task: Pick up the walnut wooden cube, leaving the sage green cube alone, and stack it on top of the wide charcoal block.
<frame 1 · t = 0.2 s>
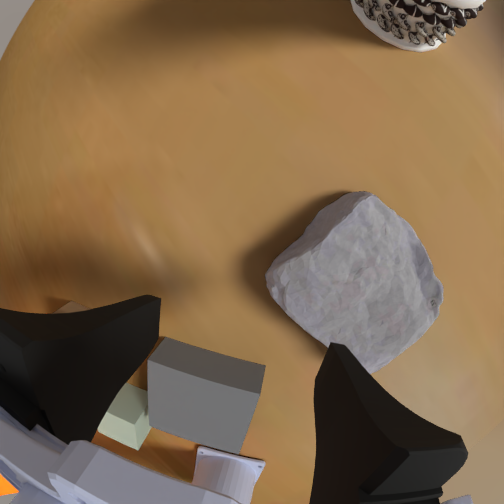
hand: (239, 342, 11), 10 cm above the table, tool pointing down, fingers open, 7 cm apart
decorative candle: (398, 11, 14), on the table
sage block: (134, 400, 27), on the table
stone block: (362, 276, 20), on the table
charcoal block: (208, 385, 25), on the table
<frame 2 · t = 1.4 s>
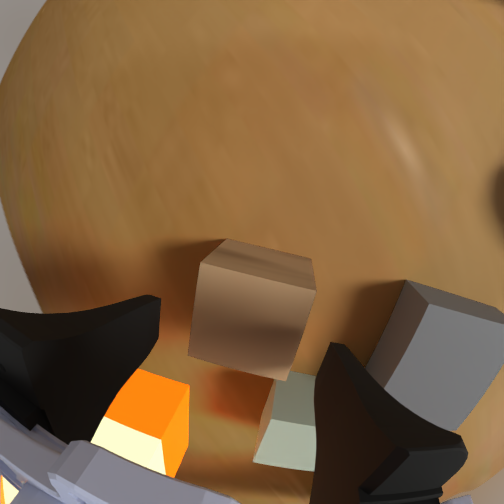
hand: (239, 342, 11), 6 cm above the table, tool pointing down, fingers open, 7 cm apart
orange juice: (149, 404, 22), on the table
sage block: (302, 398, 19), on the table
charcoal block: (428, 349, 17), on the table
walnut block: (259, 287, 17), on the table
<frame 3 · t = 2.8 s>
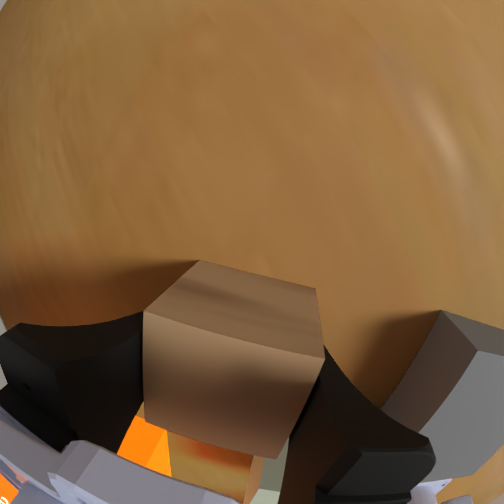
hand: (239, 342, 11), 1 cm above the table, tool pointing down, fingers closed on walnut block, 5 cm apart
orange juice: (126, 440, 17), on the table
sage block: (300, 446, 15), on the table
charcoal block: (453, 388, 12), on the table
walnut block: (245, 325, 13), on the table, touching gripper
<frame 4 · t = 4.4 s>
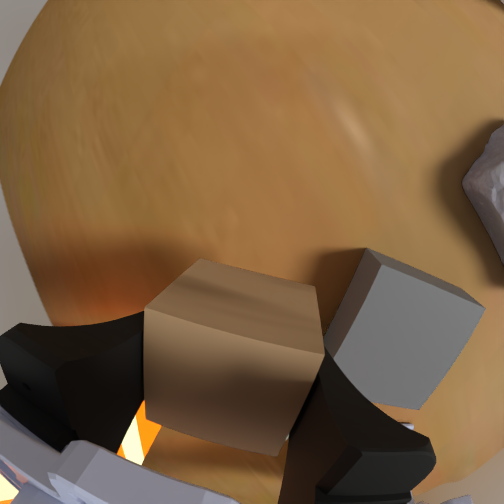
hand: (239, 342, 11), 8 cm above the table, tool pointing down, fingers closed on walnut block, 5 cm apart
orange juice: (130, 374, 24), on the table
charcoal block: (390, 322, 19), on the table
walnut block: (245, 323, 13), point 7 cm above the table, touching gripper
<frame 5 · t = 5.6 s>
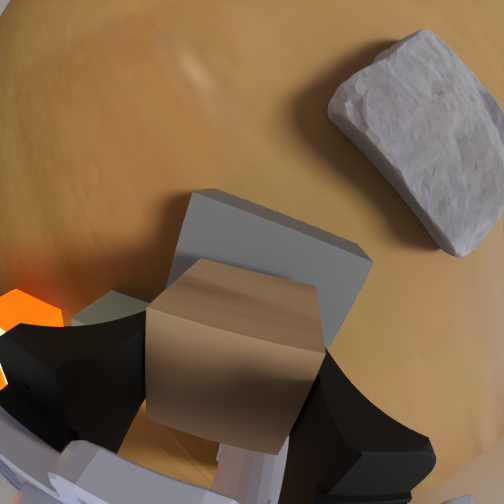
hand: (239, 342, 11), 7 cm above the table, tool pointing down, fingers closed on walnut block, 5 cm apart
orange juice: (44, 335, 23), on the table
sage block: (139, 328, 20), on the table
stone block: (433, 135, 14), on the table
charcoal block: (260, 282, 18), on the table
walnut block: (245, 323, 13), point 5 cm above the table, touching gripper
when the fingers open (7 cm above the table, at t = 6.3 s): walnut block drops 1 cm, point 4 cm above the table.
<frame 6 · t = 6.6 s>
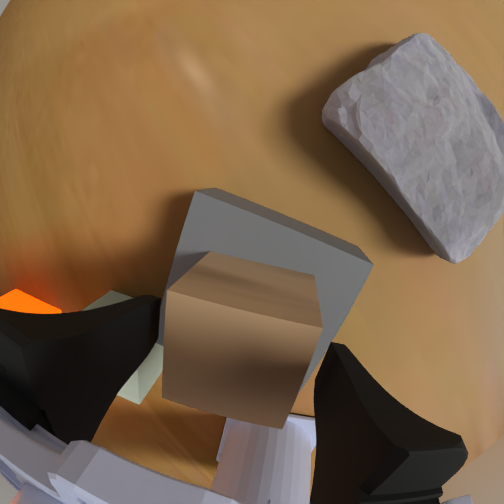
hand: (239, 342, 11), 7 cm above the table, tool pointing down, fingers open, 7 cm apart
orange juice: (44, 335, 23), on the table
sage block: (139, 328, 20), on the table
stone block: (428, 139, 14), on the table
charcoal block: (260, 282, 18), on the table
walnut block: (251, 310, 14), point 4 cm above the table
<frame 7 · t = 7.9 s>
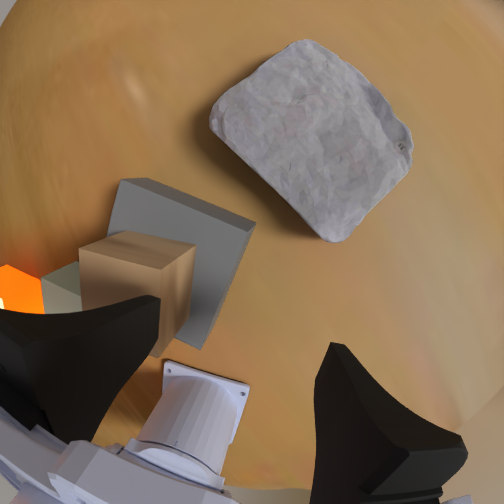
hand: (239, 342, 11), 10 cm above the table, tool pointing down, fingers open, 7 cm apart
orange juice: (27, 304, 27), on the table
sage block: (95, 292, 24), on the table
stone block: (319, 134, 18), on the table
charcoal block: (181, 252, 22), on the table, touching walnut block
walnut block: (157, 274, 18), point 4 cm above the table, touching charcoal block
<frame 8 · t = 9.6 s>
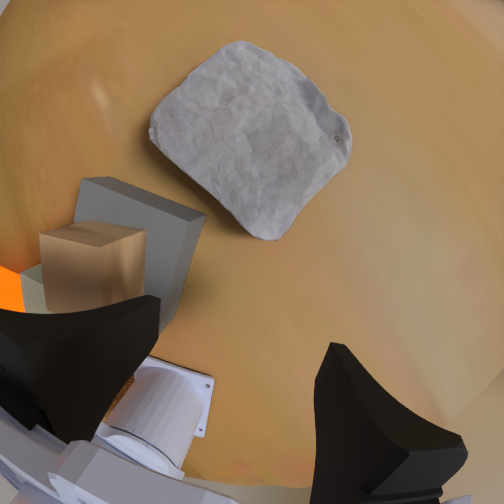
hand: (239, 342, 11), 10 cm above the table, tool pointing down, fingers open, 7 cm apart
orange juice: (14, 300, 27), on the table
sage block: (71, 287, 24), on the table
stone block: (259, 133, 19), on the table
charcoal block: (141, 245, 22), on the table, touching walnut block
walnut block: (114, 259, 18), point 4 cm above the table, touching charcoal block
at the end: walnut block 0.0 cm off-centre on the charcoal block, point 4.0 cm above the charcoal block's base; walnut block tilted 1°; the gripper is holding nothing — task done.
